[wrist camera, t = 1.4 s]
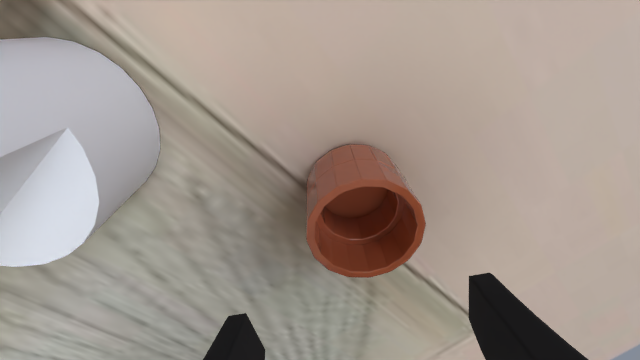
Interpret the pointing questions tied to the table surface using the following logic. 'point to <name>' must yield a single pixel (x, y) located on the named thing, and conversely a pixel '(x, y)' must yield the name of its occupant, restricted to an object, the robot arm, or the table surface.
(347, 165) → the pot
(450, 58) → the table surface
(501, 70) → the table surface
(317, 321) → the table surface
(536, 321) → the robot arm
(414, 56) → the table surface
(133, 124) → the cylinder with rectangular tab
